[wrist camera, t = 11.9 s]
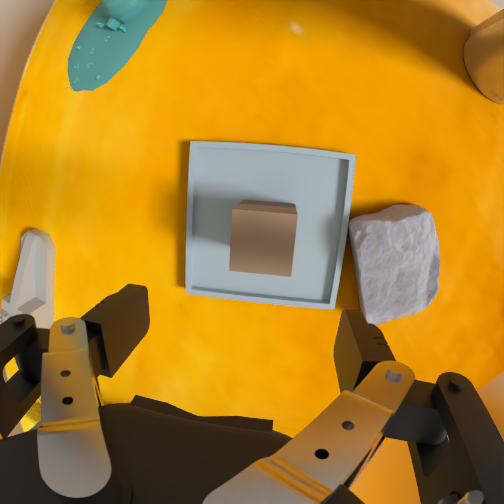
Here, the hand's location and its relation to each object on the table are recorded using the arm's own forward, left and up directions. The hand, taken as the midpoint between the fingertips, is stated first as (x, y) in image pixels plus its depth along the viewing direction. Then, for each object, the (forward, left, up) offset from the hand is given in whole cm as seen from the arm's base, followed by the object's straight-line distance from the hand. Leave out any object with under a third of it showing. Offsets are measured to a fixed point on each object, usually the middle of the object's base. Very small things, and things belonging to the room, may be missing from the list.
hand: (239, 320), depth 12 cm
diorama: (-23, -21, -21) cm, 37 cm away
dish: (0, 0, -20) cm, 20 cm away
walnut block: (0, 0, -20) cm, 20 cm away
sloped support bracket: (+12, -32, -21) cm, 40 cm away
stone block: (+2, +14, -21) cm, 25 cm away
